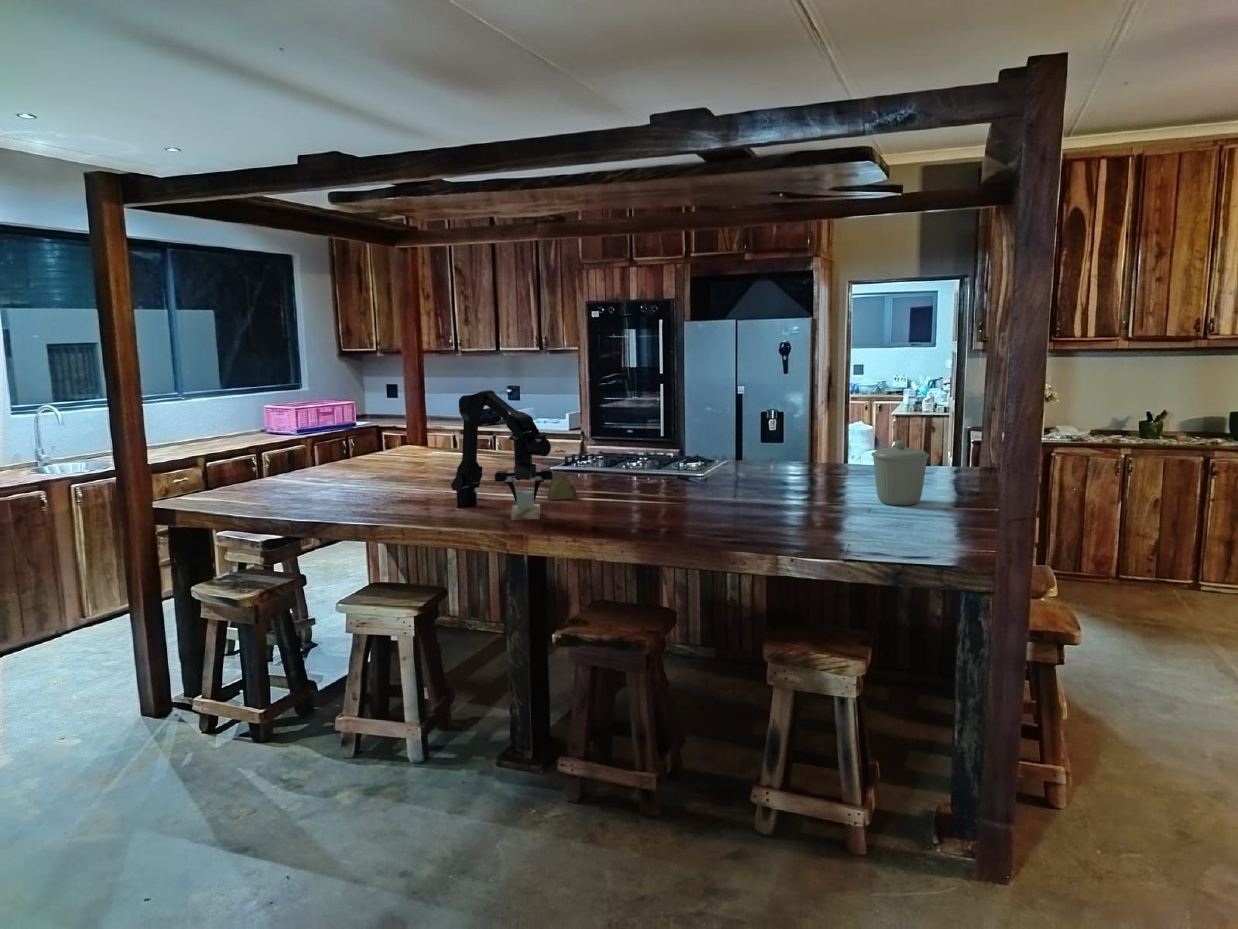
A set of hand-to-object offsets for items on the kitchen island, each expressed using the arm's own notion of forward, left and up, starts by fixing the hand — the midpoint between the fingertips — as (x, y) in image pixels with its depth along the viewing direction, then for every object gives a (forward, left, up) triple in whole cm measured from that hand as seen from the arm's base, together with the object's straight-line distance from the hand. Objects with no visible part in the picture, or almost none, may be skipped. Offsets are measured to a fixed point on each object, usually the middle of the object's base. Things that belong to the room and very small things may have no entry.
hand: (525, 501), depth 266 cm
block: (0, 0, -2) cm, 2 cm away
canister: (+124, -4, -5) cm, 124 cm away
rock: (+12, +27, -6) cm, 30 cm away
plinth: (0, 0, -5) cm, 5 cm away
